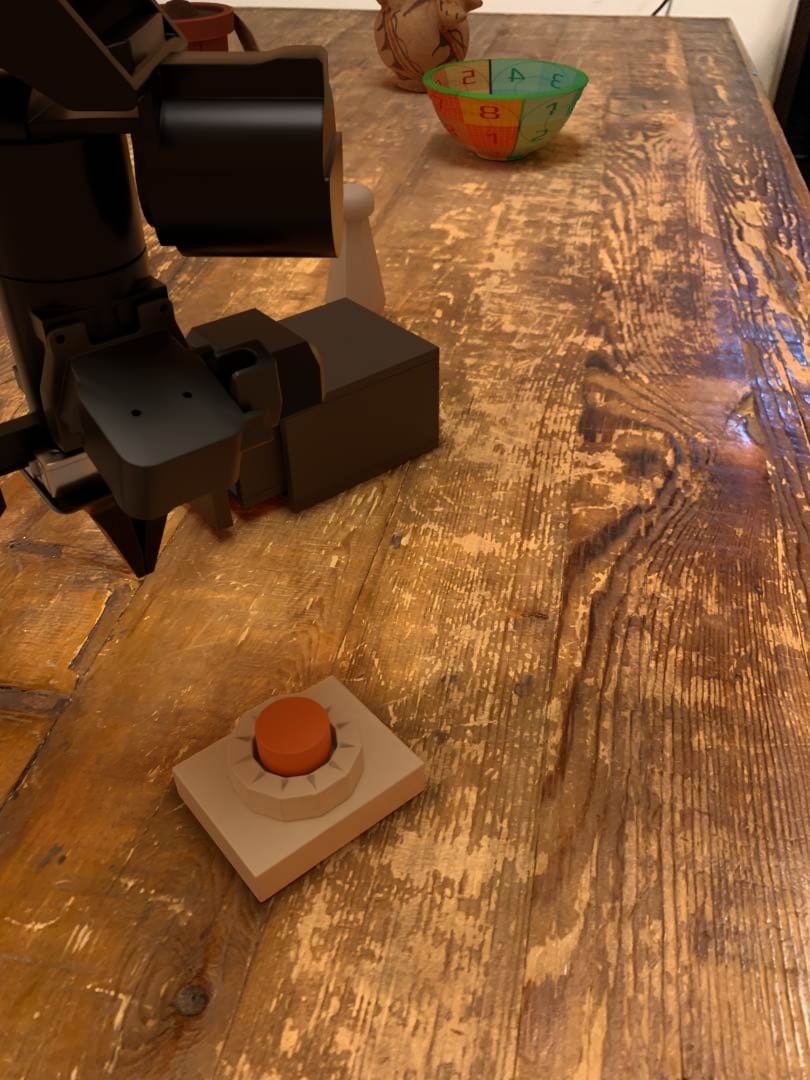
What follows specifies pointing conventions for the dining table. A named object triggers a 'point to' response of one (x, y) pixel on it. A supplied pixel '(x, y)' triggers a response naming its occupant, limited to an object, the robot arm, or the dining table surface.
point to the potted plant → (209, 25)
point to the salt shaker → (356, 254)
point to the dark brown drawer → (247, 483)
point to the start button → (293, 736)
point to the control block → (298, 791)
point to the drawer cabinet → (359, 402)
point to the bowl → (504, 103)
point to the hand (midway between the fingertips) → (141, 571)
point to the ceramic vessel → (422, 36)
